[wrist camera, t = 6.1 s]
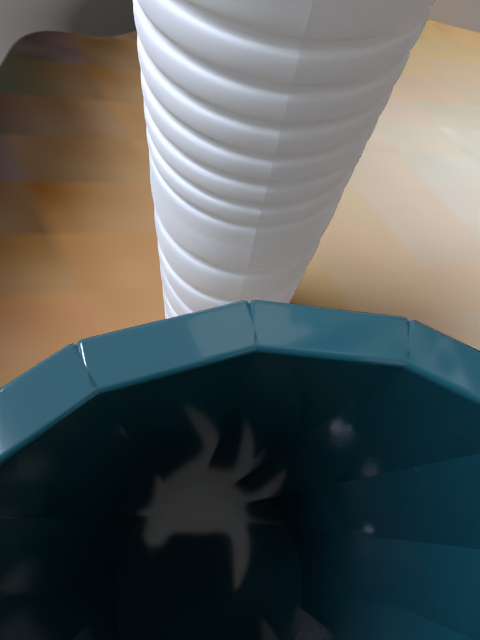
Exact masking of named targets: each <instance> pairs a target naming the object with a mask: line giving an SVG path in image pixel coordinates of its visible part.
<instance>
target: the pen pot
mask: <svg viewBox="0 0 480 640" xmlns="http://www.w3.org/2000/svg"><path fill="white" fill-rule="evenodd" d="M0 640H480V351H479V350H477V349H475V348H473V347H470V346H468V345H466V344H464V343H462V342H460V341H458V340H456V339H454V338H452V337H450V336H447V335H445V334H443V333H441V332H439V331H437V330H435V329H433V328H431V327H429V326H427V325H424V324H422V323H420V322H418V321H416V320H409V321H408V319H407V318H405V317H400V316H391V315H383V314H374V313H366V312H357V311H349V310H340V309H332V308H323V307H315V306H306V305H298V304H289V303H281V302H272V301H264V300H251V301H250V303H248V301H245V300H242V301H238V302H234V303H230V304H225V305H221V306H217V307H213V308H209V309H205V310H201V311H196V312H192V313H188V314H184V315H180V316H176V317H172V318H167V319H163V320H159V321H155V322H151V323H147V324H143V325H138V326H134V327H130V328H126V329H122V330H118V331H114V332H109V333H105V334H101V335H97V336H93V337H89V338H85V339H82V340H80V341H78V344H77V345H76V344H73V343H72V344H69V345H67V346H65V347H64V348H62V349H61V350H59V351H58V352H56V353H54V354H53V355H51V356H50V357H48V358H47V359H45V360H43V361H42V362H40V363H39V364H37V365H36V366H34V367H32V368H31V369H29V370H28V371H26V372H25V373H23V374H21V375H20V376H18V377H17V378H15V379H14V380H12V381H10V382H9V383H7V384H6V385H4V386H3V387H1V388H0Z"/></svg>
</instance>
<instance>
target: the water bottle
mask: <svg viewBox="0 0 480 640" xmlns="http://www.w3.org/2000/svg"><path fill="white" fill-rule="evenodd" d="M434 2H435V0H133V10H134V18H135V25H136V29H137V33H138V35H137V47H138V57H139V62H140V67H141V86H142V92H143V97H144V114H145V121H146V125H147V141H148V147H149V161H150V180H151V189H152V196H153V201H154V205H155V225H156V232H157V237H158V252H159V258H160V270H161V279H162V284H163V298H164V304H165V318H166V319H167V318H172V317H176V316H180V315H184V314H188V313H192V312H196V311H201V310H205V309H209V308H213V307H217V306H221V305H225V304H230V303H234V302H238V301H242V300H245V301H248V303H250V301H251V300H264V301H272V302H281V303H289V304H290V302H291V300H292V298H293V296H294V293H295V291H296V288H297V286H298V285H299V283H300V281H301V280H302V277H303V275H304V273H305V270H306V267H307V266H308V264H309V262H310V261H311V259H312V257H313V255H314V253H315V251H316V249H317V247H318V244H319V242H320V239H321V236H322V235H323V233H324V232H325V230H326V228H327V227H328V225H329V223H330V221H331V219H332V217H333V215H334V212H335V210H336V208H337V205H338V203H339V200H340V198H341V196H342V193H343V191H344V188H345V187H346V185H347V183H348V182H349V180H350V178H351V175H352V173H353V171H354V168H355V166H356V164H357V163H358V161H359V159H360V157H361V155H362V153H363V151H364V148H365V145H366V143H367V141H368V140H369V138H370V136H371V135H372V133H373V131H374V128H375V126H376V124H377V121H378V118H379V116H380V114H381V113H382V111H383V110H384V108H385V106H386V104H387V102H388V100H389V97H390V95H391V92H392V89H393V86H394V85H395V83H396V82H397V80H398V79H399V77H400V75H401V73H402V71H403V69H404V67H405V65H406V62H407V60H408V57H409V54H410V50H411V49H412V48H413V46H414V45H415V43H416V42H417V40H418V38H419V36H420V34H421V32H422V30H423V28H424V26H425V24H426V21H427V18H428V15H429V11H430V7H431V6H432V5H433V3H434Z"/></svg>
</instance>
